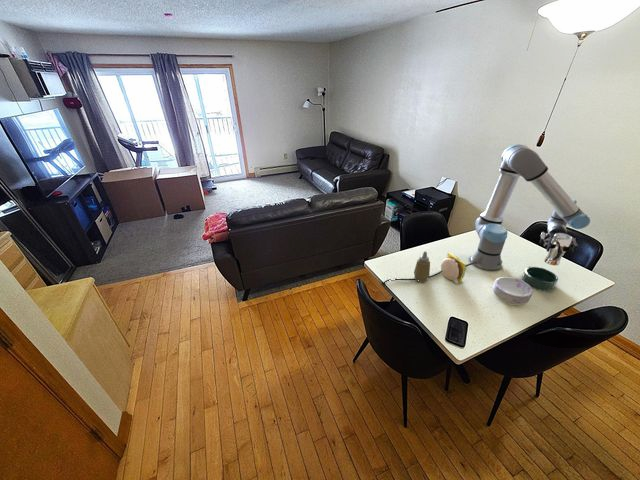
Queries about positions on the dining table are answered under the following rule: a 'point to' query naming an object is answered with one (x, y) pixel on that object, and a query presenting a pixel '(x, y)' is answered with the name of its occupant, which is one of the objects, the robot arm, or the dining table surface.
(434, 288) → the dining table surface
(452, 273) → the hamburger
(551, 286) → the glazed bowl
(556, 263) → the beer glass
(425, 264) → the squeeze bottle
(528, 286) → the lavender bowl
